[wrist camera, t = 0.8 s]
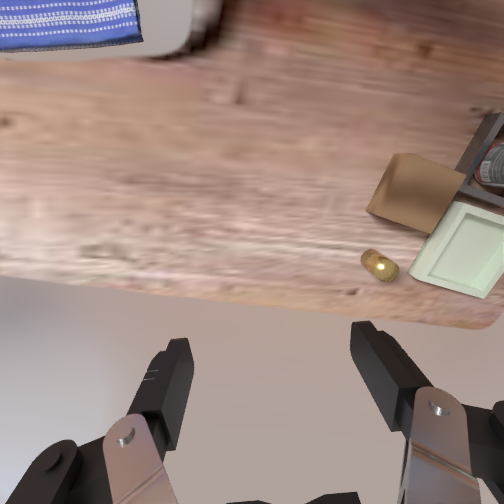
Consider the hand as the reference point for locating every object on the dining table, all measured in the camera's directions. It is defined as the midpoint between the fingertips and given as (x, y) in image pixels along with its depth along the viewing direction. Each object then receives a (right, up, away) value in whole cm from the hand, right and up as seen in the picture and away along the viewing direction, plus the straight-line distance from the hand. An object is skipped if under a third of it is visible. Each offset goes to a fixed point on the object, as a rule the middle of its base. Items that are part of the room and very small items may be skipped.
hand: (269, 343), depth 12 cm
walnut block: (+21, +13, +23) cm, 33 cm away
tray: (+32, +5, +26) cm, 41 cm away
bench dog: (+18, +3, +26) cm, 31 cm away
